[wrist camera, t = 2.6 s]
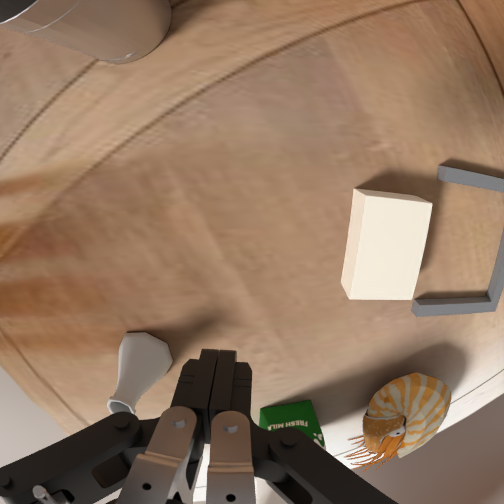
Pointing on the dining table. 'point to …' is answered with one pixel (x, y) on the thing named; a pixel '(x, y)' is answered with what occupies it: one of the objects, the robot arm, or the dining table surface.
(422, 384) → the nautilus
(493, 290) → the u-shaped bracket
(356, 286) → the carton
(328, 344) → the dining table surface
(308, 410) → the milk carton
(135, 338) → the flask
